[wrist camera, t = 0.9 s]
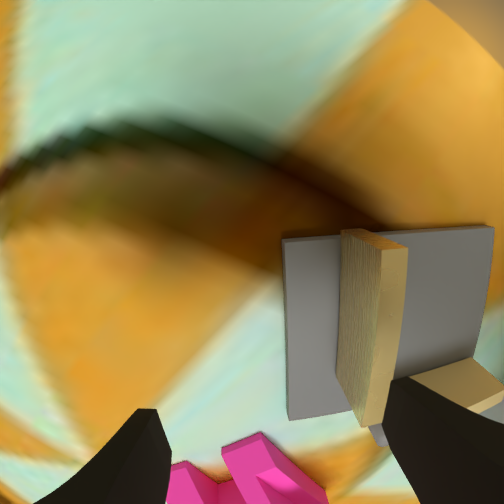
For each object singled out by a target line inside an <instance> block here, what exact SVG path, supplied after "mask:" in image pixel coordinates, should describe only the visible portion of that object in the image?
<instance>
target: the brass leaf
mask: <svg viewBox="0 0 504 504" xmlns="http://www.w3.org/2000/svg"><path fill="white" fill-rule="evenodd" d="M340 247H341V265H340V312H339V334H338V351H337V366H336V378H337V380H338V382H339V384H340V386H341V388H342V390H343V392H344V394H345V396H346V398H347V400H348V402H349V404H350V406H351V408H352V410H353V412H354V414H355V416H356V418H357V420H358V422H359V424H360V426H361V428H363V427H367V426H371V425H375V424H379V423H382V420H383V416H384V411H385V407H386V402H387V397H388V393H389V387H390V382H391V380H393V375H394V370H395V364H396V358H397V352H398V346H399V340H400V333H401V325H402V317H403V309H404V300H405V289H406V277H407V262H408V247H405V246H403V245H401V244H398V243H396V242H394V241H391V240H389V239H386V238H384V237H382V236H379V235H377V234H374V233H372V232H370V231H367V230H365V229H362V228H357V229H342V230H340Z"/></svg>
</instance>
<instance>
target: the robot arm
mask: <svg viewBox="0 0 504 504" xmlns="http://www.w3.org/2000/svg"><path fill="white" fill-rule="evenodd" d="M381 425H382V428H383V431H384V434H385V436H386V439H387V441H388V444H389V446H390V449H391V451H392V453H393V455H394V456H395V458H396V460H397V462H398V463H399V465H400V467H401V469H402V471H403V472H404V474H405V476H406V478H407V479H408V481H409V483H410V485H411V486H412V488H413V490H414V492H415V494H416V495H417V497H418V499H419V502H420V504H504V397H503V399H502V402H500V403H498V404H496V405H494V406H492V407H490V408H489V409H487V410H485V411H483V412H481V413H479V414H477V413H475V412H473V411H471V410H469V409H467V408H465V407H463V406H461V405H459V404H457V403H455V402H453V401H451V400H449V399H447V398H446V397H444V396H442V395H440V394H438V393H437V392H435V391H433V390H431V389H430V388H428V387H426V386H424V385H423V384H421V383H419V382H417V381H415V380H414V379H412V378H410V377H408V376H406V377H402V378H399V379H395V380H391V382H390V387H389V393H388V397H387V402H386V407H385V411H384V416H383V420H382V424H381ZM171 457H172V451H171V448H170V445H169V443H168V440H167V437H166V435H165V432H164V429H163V427H162V424H161V421H160V418H159V415H158V412H157V409H137V410H136V411H135V412H134V413H133V414H132V415H131V416H130V418H129V419H128V420H127V421H126V422H125V423H124V424H123V426H122V427H121V428H120V429H119V430H118V431H117V432H116V434H115V435H114V436H113V437H112V438H111V439H110V440H109V441H108V442H107V443H106V445H105V446H104V447H103V448H102V449H101V450H100V451H99V452H98V453H97V454H96V455H95V456H94V457H93V458H92V459H91V460H90V461H89V462H88V463H87V464H86V465H85V466H84V467H83V468H82V469H80V470H79V471H78V472H77V473H76V474H75V475H74V476H73V477H71V478H70V479H69V480H68V481H67V482H65V483H64V484H63V485H61V486H60V487H58V488H57V489H56V490H54V491H53V492H51V493H50V494H48V495H47V496H45V497H44V498H42V499H40V500H38V501H37V502H35V503H33V504H165V502H166V497H167V492H168V487H169V482H170V473H171Z"/></svg>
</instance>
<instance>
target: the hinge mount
mask: <svg viewBox="0 0 504 504" xmlns="http://www.w3.org/2000/svg"><path fill="white" fill-rule="evenodd" d="M372 233H374V234H377V235H379V236H382V237H384V238H386V239H389V240H391V241H394V242H396V243H398V244H401V245H403V246H405V247H408V262H407V277H406V289H405V300H404V309H403V317H402V325H401V333H400V340H399V346H398V352H397V358H396V364H395V370H394V375H393V380H395V379H399V378H402V377H406V376H408V377H410V378H412V379H414V380H415V381H417V382H419V383H421V384H423V385H424V386H426V387H428V388H430V389H431V390H433V391H435V392H437V393H438V394H440V395H442V396H444V397H446V398H447V399H449V400H451V401H453V402H455V403H457V404H459V405H461V406H463V407H465V408H467V409H469V410H471V411H473V412H475V413H477V414H479V413H481V412H483V411H485V410H487V409H489V408H490V407H492V406H494V405H496V404H498V403H500V402H502V399H503V397H504V385H503V384H502V383H501V382H500V381H498V380H497V379H496V378H495V377H494V376H493V375H491V374H490V373H489V372H488V371H487V370H486V369H485V368H483V367H482V366H481V365H480V364H479V363H478V362H476V361H475V360H474V359H473V355H474V351H475V348H476V344H477V340H478V336H479V331H480V327H481V323H482V318H483V313H484V308H485V303H486V297H487V291H488V285H489V278H490V271H491V263H492V253H493V242H494V227H491V226H487V225H480V226H463V227H447V228H431V229H416V230H401V231H386V232H372ZM282 260H283V283H284V309H285V342H286V389H287V415H288V419H289V421H292V420H299V419H306V418H313V417H319V416H324V415H330V414H335V413H340V412H345V411H350V410H352V408H351V406H350V404H349V402H348V400H347V398H346V396H345V394H344V392H343V390H342V388H341V386H340V384H339V382H338V380H337V378H336V366H337V351H338V334H339V312H340V265H341V247H340V235H329V236H315V237H302V238H289V239H282ZM381 424H382V423H379V424H375V425H371V426H368V428H369V429H370V431H371V433H372V435H373V437H374V439H375V441H376V443H377V445H378V446H381V447H384V446H388V445H389V444H388V441H387V439H386V436H385V434H384V431H383V428H382V425H381Z"/></svg>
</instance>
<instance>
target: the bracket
mask: <svg viewBox="0 0 504 504" xmlns="http://www.w3.org/2000/svg"><path fill="white" fill-rule="evenodd" d="M221 455H222V457H223V459H224V461H225V463H226V465H227V467H228V469H229V471H230V473H231V475H232V477H233V480H230V481H227V482H224V483H221V484H217V483H216V482H214V481H213V480H211V479H210V478H209V477H207V476H206V475H205V474H203V473H202V472H201V471H199V470H198V469H197V468H195V467H194V466H193V465H191V464H190V463H189V462H188V461H184V462H181V463H178V464H175V465H172V466H171V473H170V482H169V487H168V492H167V497H166V502H167V504H329V502H328V499H327V496H326V492H325V490H323V489H322V488H321V487H320V486H319V485H317V484H316V483H315V482H314V481H313V480H312V479H310V478H309V477H308V476H307V475H306V474H305V473H304V472H302V471H301V470H300V469H299V468H298V467H297V466H296V465H295V464H294V463H292V462H291V461H290V460H289V459H288V458H287V457H286V456H285V455H284V454H283V453H282V452H281V451H280V450H278V449H277V448H276V447H275V446H274V445H273V444H272V443H271V442H270V441H269V440H268V439H267V438H266V437H265V436H264V435H263V434H262V433H261V432H259V433H257V434H255V435H253V436H250V437H248V438H246V439H243V440H241V441H238V442H236V443H233V444H231V445H229V446H226V447H223V448H222V453H221Z"/></svg>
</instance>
